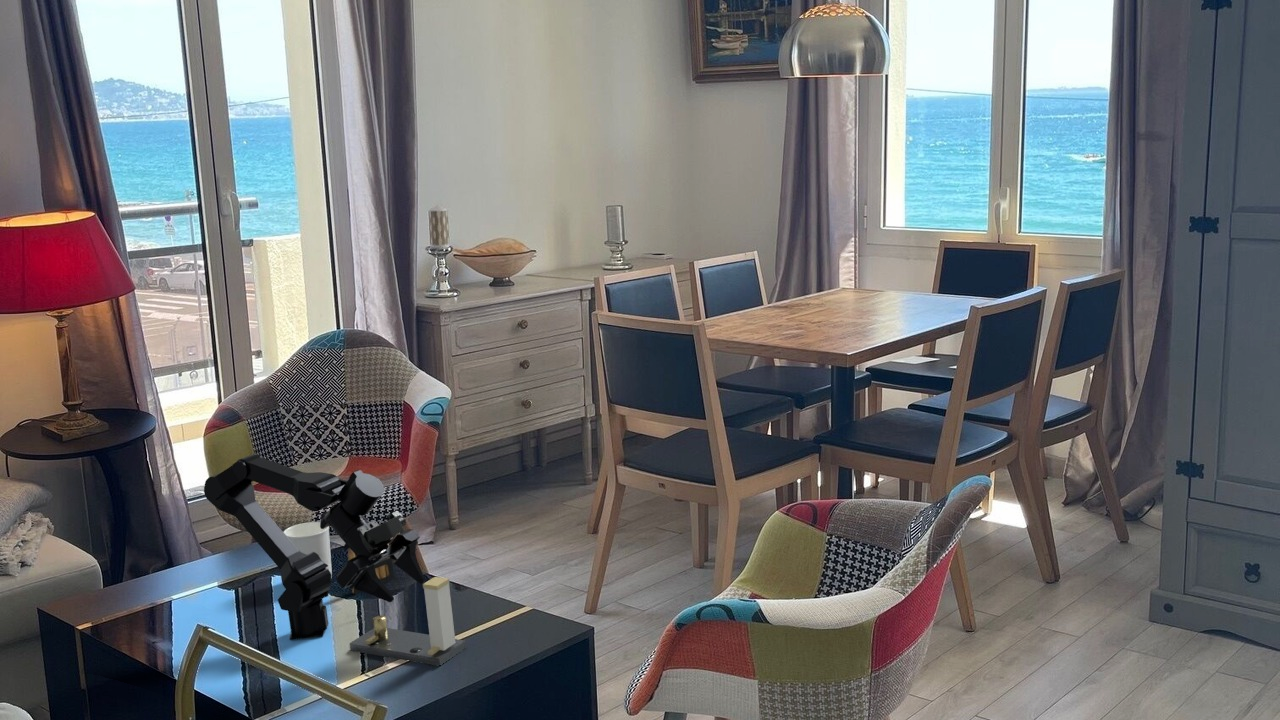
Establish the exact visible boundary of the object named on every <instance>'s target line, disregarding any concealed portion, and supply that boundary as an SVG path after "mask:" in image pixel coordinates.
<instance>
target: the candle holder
mask: <svg viewBox="0 0 1280 720" xmlns="http://www.w3.org/2000/svg"><path fill="white" fill-rule="evenodd" d="M320 522H321V521H310V522H303V523H299V524H295V525H292V526H290V527H287V528H286V529H284V530H283V532H284V534H285V535H286V536H287V537H288V538H289V539H290V541H291V542H292V543H293V544H294V545H295V546H296V548H297V549H298V550H299V551H300V552H301V553H304V554H307V555H308V554H310V553H312V552H315V553H317V554H318V556H319V557H320V559H321V560H322V561H323V562H324V563H325V564H327V565H328V567H327V568H328V570H329V571H330V573H331V575H332V576H333V571H332V570H333V569H332V556H331V543H330V542H331V541H330V526H328V527H326V528H324V529H321V528H320ZM332 576H331V579H332Z"/></svg>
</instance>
